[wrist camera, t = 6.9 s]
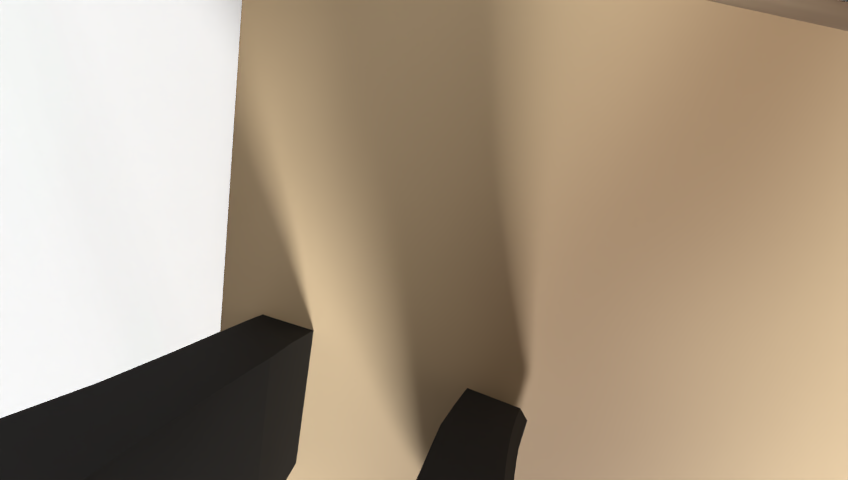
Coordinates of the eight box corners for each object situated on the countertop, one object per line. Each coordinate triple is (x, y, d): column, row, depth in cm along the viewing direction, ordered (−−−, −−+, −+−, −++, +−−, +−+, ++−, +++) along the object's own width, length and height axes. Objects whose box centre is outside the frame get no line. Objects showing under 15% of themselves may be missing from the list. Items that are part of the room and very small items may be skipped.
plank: (1202, 77, 8) (1365, 144, 6) (779, 712, 13) (805, 843, 11) (317, -112, 9) (248, -101, 7) (248, 554, 14) (199, 653, 12)
